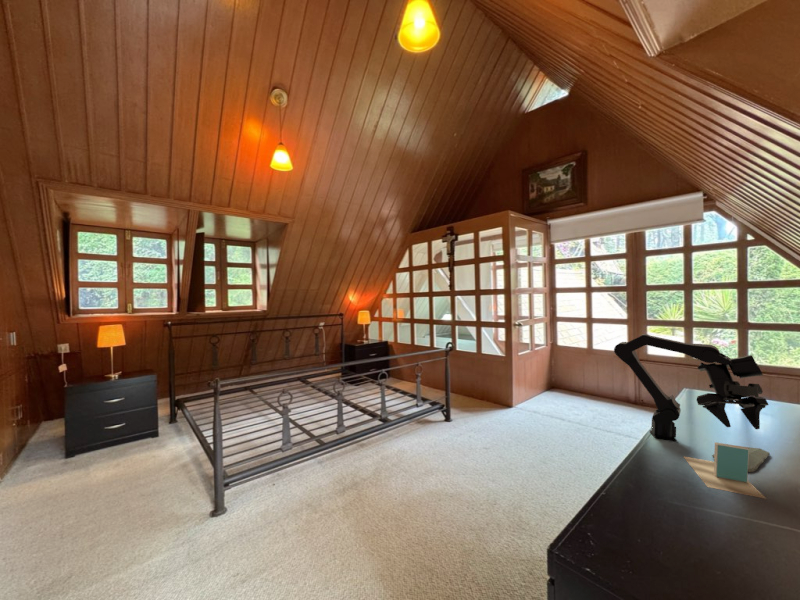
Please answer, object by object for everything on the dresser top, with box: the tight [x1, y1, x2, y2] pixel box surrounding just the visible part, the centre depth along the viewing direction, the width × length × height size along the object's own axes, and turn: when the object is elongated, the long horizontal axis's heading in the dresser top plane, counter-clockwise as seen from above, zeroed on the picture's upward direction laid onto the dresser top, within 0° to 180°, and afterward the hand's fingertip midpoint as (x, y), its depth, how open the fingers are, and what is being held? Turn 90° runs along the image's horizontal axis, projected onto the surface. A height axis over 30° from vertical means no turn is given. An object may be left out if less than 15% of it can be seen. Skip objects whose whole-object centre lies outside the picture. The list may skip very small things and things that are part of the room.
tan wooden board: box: [683, 456, 767, 499], centre depth 97 cm, size 18×12×1 cm
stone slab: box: [711, 446, 771, 473], centre depth 108 cm, size 22×3×10 cm
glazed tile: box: [713, 442, 749, 482], centre depth 95 cm, size 2×7×10 cm, turn 65°
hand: (743, 428), depth 103 cm, fingers open, 9 cm apart
